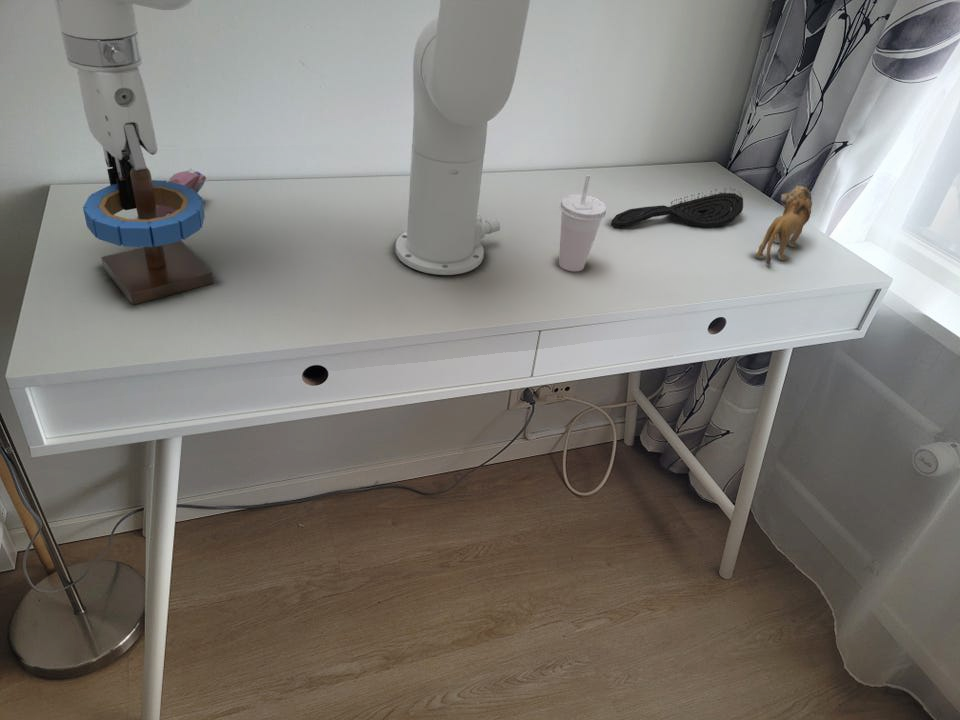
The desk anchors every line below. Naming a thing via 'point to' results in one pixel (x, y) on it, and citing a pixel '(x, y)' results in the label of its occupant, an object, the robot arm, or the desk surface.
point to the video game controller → (186, 179)
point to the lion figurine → (788, 222)
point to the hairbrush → (689, 211)
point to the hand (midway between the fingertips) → (131, 201)
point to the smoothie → (579, 227)
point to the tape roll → (141, 230)
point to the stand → (154, 257)
